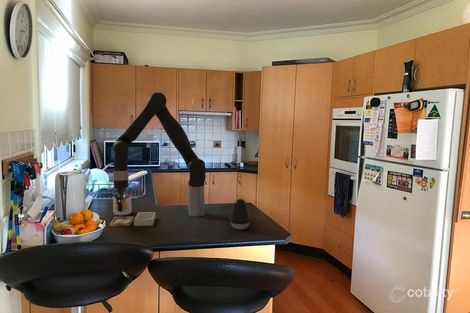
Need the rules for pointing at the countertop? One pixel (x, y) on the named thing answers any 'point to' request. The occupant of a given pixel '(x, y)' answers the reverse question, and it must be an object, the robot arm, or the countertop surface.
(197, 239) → the countertop surface
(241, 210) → the black tapered speaker
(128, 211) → the cup
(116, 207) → the ball
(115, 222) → the tray
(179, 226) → the countertop surface
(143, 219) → the bin
